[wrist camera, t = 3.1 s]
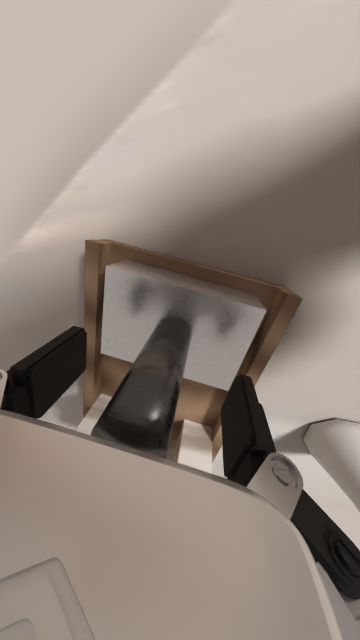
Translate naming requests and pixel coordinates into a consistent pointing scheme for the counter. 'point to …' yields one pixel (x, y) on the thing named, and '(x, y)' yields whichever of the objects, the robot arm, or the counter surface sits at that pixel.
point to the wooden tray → (195, 398)
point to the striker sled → (168, 346)
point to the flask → (338, 453)
